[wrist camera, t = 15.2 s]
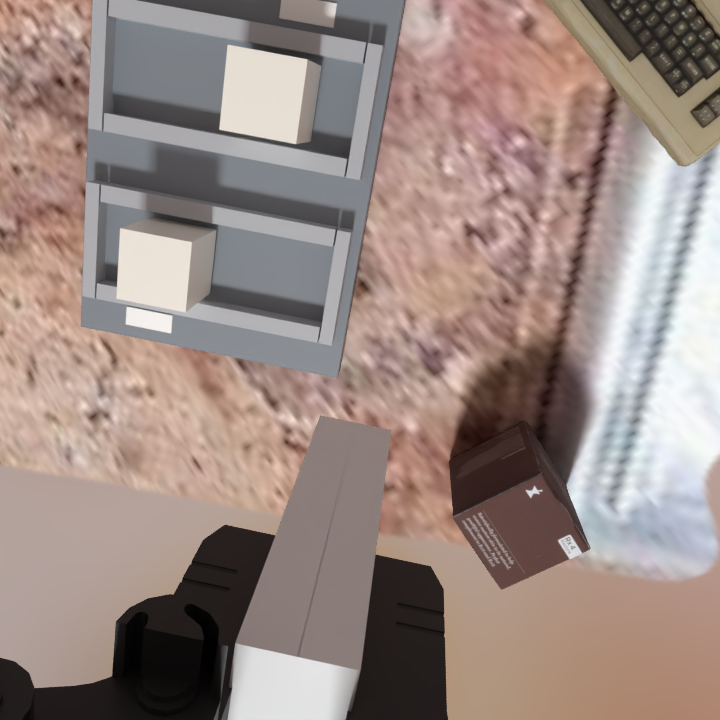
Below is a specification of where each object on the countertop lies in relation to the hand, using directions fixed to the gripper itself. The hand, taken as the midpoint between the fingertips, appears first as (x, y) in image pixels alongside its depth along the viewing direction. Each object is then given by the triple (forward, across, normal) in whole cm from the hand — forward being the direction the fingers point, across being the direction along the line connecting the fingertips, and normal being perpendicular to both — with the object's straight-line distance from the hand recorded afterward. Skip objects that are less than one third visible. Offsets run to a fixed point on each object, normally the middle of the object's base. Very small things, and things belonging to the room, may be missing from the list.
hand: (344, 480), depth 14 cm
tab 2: (+28, -8, +7) cm, 30 cm away
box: (+30, +10, -14) cm, 34 cm away
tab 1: (+28, -13, -3) cm, 31 cm away
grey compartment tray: (+29, -11, +2) cm, 31 cm away
